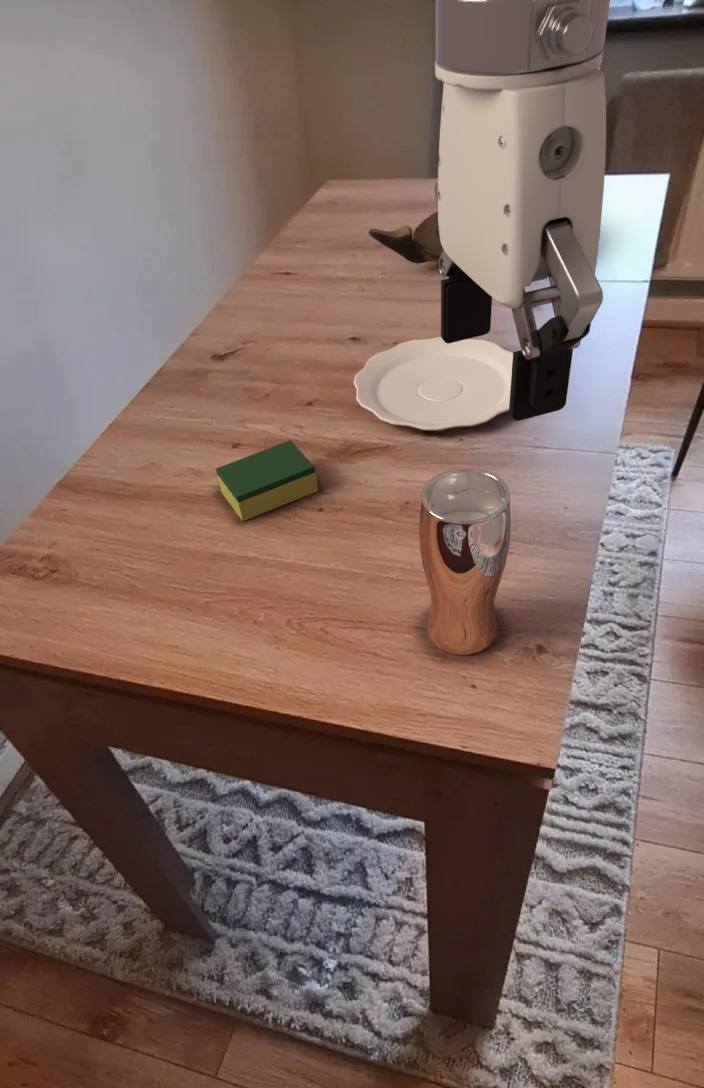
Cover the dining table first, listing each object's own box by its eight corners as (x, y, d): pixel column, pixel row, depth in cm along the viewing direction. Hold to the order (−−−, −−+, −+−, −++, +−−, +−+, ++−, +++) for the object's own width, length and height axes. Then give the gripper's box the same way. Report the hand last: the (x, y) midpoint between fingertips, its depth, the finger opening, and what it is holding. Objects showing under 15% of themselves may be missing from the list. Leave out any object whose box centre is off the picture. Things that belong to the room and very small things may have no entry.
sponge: (294, 464, 90) (290, 439, 88) (318, 491, 86) (314, 466, 84) (221, 492, 88) (215, 468, 85) (242, 521, 84) (236, 497, 81)
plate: (496, 454, 87) (497, 441, 86) (326, 422, 95) (325, 410, 94) (549, 360, 99) (550, 348, 98) (395, 339, 108) (394, 327, 106)
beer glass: (414, 652, 69) (409, 518, 58) (430, 596, 73) (428, 462, 62) (496, 665, 67) (506, 529, 56) (507, 606, 71) (518, 470, 61)
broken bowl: (580, 281, 114) (586, 225, 108) (370, 295, 118) (366, 242, 112) (560, 220, 129) (565, 169, 124) (375, 235, 133) (373, 186, 128)
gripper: (713, 49, 30) (634, 431, 42) (510, -11, 42) (494, 301, 54) (531, 86, 29) (504, 466, 41) (376, 15, 41) (390, 326, 53)
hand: (498, 372), depth 48 cm, fingers open, 9 cm apart
